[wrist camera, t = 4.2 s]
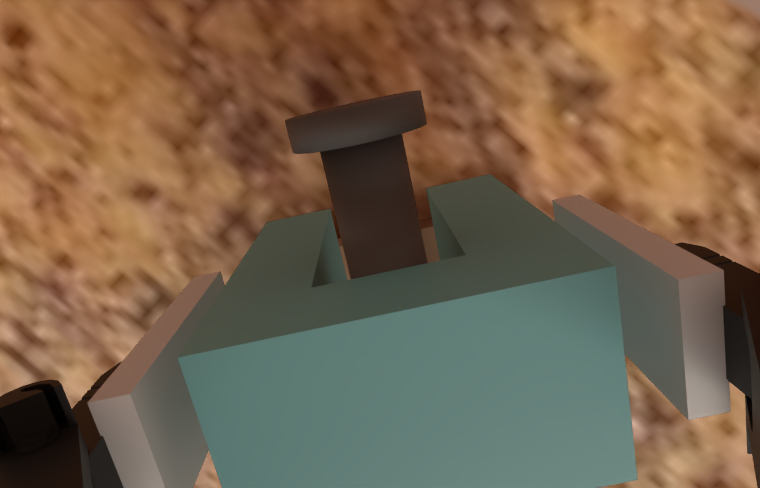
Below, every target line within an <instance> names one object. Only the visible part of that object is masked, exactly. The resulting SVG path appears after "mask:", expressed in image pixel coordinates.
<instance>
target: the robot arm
mask: <svg viewBox="0 0 760 488" xmlns="http://www.w3.org/2000/svg"><path fill="white" fill-rule="evenodd" d="M552 201H553V208H554V216H555V222H556V223H558V224H559V225H560V226H562V227H563V228H564V229H566V230H567V231H568V232H570V233H571V234H573V235H574V236H575V237H577V238H578V239H579V240H581V241H582V242H583V243H585V244H586V245H588V246H589V247H590V248H592V249H593V250H594V251H596V252H597V253H598V254H600V255H601V256H603V257H604V258H605V259H607V260H608V261H609V262H611V263H612V264H613V265H615V267H616V277H617V287H618V296H619V306H620V316H621V325H622V335H623V344H624V354H625V355H626V356H627V357H628V358H629V359H630V360H631V361H632V362H633V363H634V364H635V365H636V366H637V367H638V368H639V369H640V370H641V371H642V372H643V373H644V374H645V375H646V377H647V378H648V379H649V380H650V381H651V382H652V383H653V384H654V385H655V386H656V387H657V388H658V389H659V390H660V391H661V392H662V393H663V394H664V395H665V396H666V397H667V398H668V399H669V400H670V401H671V403H672V404H673V405H674V406H675V407H676V408H677V409H678V410H679V411H680V412H681V413H682V414H683V415H684V416H685V417H686V418H687V419H688V420H692V419H697V418H702V417H707V416H712V415H717V414H722V413H727V412H731V410H730V390H729V382H731V383H732V384H733V385H734V386H736V387H737V388H738V389H739V390H740V391H742V392H743V393H744V394H745V404H746V429H747V453H748V454H752V456H753V462H754V468H755V474H756V480H757V486H758V488H760V273H757V272H755V271H753V270H751V269H749V268H747V267H744V266H742V265H740V264H738V263H736V262H732V260H730V259H728V258H726V257H724V256H720V255H719V254H718V253H716V252H714V251H712V250H710V249H708V248H705V247H702V246H697V245H692V244H687V243H677V244H673V243H671V242H669V241H667V240H665V239H663V238H661V237H660V236H658V235H656V234H654V233H652V232H650V231H648V230H646V229H644V228H642V227H640V226H639V225H637V224H635V223H633V222H631V221H629V220H627V219H625V218H623V217H621V216H620V215H618V214H616V213H614V212H612V211H610V210H608V209H606V208H604V207H602V206H601V205H599V204H597V203H595V202H593V201H591V200H589V199H587V198H585V197H583V196H582V195H575V196H570V197H566V198H561V199H556V200H552ZM224 286H225V285H224V282H223V278H222V275H221V272H220V271H219V272H215V273H210V274H205V275H201V276H196V277H194V278H193V279H192V280H191V281H190V282H189V284H188V285H187V286H186V287H185V288H184V289H183V291H182V292H181V293H180V294H179V295H178V297H177V298H176V299H175V300H174V301H173V302H172V304H171V305H170V306H169V307H168V308H167V309H166V311H165V312H164V313H163V314H162V315H161V317H160V318H159V319H158V320H157V321H156V322H155V324H154V325H153V326H152V327H151V328H150V330H149V331H148V332H147V333H146V334H145V335H144V337H143V338H142V339H141V340H140V341H139V342H138V344H137V345H136V346H135V347H134V348H133V350H132V351H131V352H130V353H129V354H128V355H127V357H126V358H125V359H124V360H123V361H122V362H120V363H118V364H117V365H116V366H114V367H113V368H111V369H110V370H108V371H107V372H106V373H104V374H103V375H102V376H101V377H100V378H99V379H98V380H97V381H96V382H95V383H94V385H93V386H92V387H91V390H88V391H87V393H86V394H85V395H84V396H83V397H82V400H81V401H79V402H78V403H77V404H76V405H75V406H74V407H73V409H71V407H70V404H69V402H68V399H67V397H66V394H65V392H64V390H63V387H62V385H61V383H60V382H59V381H57V380H45V381H39V382H35V383H32V384H28V385H25V386H22V387H20V388H17V389H15V390H13V391H10V392H8V393H6V394H4V395H2V396H0V488H193V487H194V484H195V482H196V479H197V477H198V475H199V472H200V470H201V467H202V465H203V462H204V460H205V458H206V455H207V453H208V450H209V448H208V446H207V443H206V440H205V437H204V434H203V431H202V428H201V425H200V422H199V419H198V416H197V414H196V411H195V408H194V405H193V402H192V399H191V396H190V393H189V390H188V387H187V384H186V382H185V379H184V376H183V373H182V370H181V367H180V364H179V361H178V356H179V355H180V353H181V352H182V350H183V349H184V347H185V345H186V344H187V342H188V341H189V339H190V338H191V336H192V335H193V333H194V332H195V330H196V329H197V327H198V326H199V324H200V323H201V321H202V320H203V318H204V317H205V315H206V314H207V312H208V311H209V309H210V308H211V306H212V305H213V303H214V302H215V300H216V299H217V297H218V296H219V294H220V293H221V291H222V290H223V288H224Z"/></svg>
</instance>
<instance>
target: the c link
mask: <svg viewBox="0 0 760 488" xmlns="http://www.w3.org/2000/svg"><path fill="white" fill-rule="evenodd" d="M426 191H427V196H428V201H429V206H430V211H431V217H432V222H433V227H434V232H435V237H436V243H437V248H438V253H439V258H440V261H435V262H431V263H426V264H421V265H416V266H412V267H407V268H402V269H398V270H393V271H388V272H383V273H379V274H374V275H369V276H365V277H360V278H355V279H350V280H347V276H346V272H345V268H344V263H343V259H342V255H341V251H340V247H339V243H338V239H337V235H336V230H335V226H334V222H333V218H332V214H331V210H330V209H327V210H322V211H317V212H313V213H308V214H303V215H299V216H294V217H290V218H285V219H280V220H276V221H271V222H267V223H266V224H265V226H264V227H263V229H262V231H261V232H260V234H259V235H258V237H257V238H256V240H255V241H254V243H253V244H252V246H251V247H250V249H249V250H248V252H247V253H246V255H245V256H244V258H243V259H242V261H241V262H240V264H239V265H238V267H237V268H236V270H235V271H234V273H233V274H232V276H231V277H230V279H229V280H228V282H227V283H226V285H225V286H224V288H223V290H222V291H221V293H220V294H219V296H218V297H217V299H216V300H215V302H214V303H213V305H212V306H211V308H210V309H209V311H208V312H207V314H206V315H205V317H204V318H203V320H202V321H201V323H200V324H199V326H198V327H197V329H196V330H195V332H194V333H193V335H192V336H191V338H190V339H189V341H188V342H187V344H186V345H185V347H184V349H183V350H182V352H181V353H180V355H179V356H178V361H179V364H180V367H181V370H182V373H183V376H184V379H185V382H186V384H187V387H188V390H189V393H190V396H191V399H192V402H193V405H194V408H195V411H196V414H197V416H198V419H199V422H200V425H201V428H202V431H203V434H204V437H205V440H206V443H207V446H208V448H209V451H210V454H211V457H212V460H213V463H214V466H215V469H216V472H217V475H218V477H219V480H220V483H221V486H222V488H599V487H604V486H609V485H614V484H619V483H624V482H629V481H634V480H638V479H637V470H636V460H635V450H634V441H633V431H632V421H631V412H630V402H629V393H628V383H627V373H626V364H625V354H624V344H623V335H622V325H621V316H620V306H619V296H618V287H617V277H616V267H615V265H613V264H612V263H611V262H609V261H608V260H607V259H605V258H604V257H603V256H601V255H600V254H598V253H597V252H596V251H594V250H593V249H592V248H590V247H589V246H588V245H586V244H585V243H583V242H582V241H581V240H579V239H578V238H577V237H575V236H574V235H573V234H571V233H570V232H568V231H567V230H566V229H564V228H563V227H562V226H560V225H559V224H558V223H556V222H555V221H553V220H552V219H551V218H549V217H548V216H547V215H545V214H544V213H543V212H541V211H540V210H538V209H537V208H536V207H534V206H533V205H532V204H530V203H529V202H528V201H526V200H525V199H523V198H522V197H521V196H519V195H518V194H517V193H515V192H514V191H513V190H511V189H510V188H508V187H507V186H506V185H504V184H503V183H502V182H500V181H499V180H498V179H496V178H495V177H493V176H492V175H491V174H489V175H484V176H480V177H475V178H470V179H466V180H461V181H456V182H452V183H447V184H443V185H438V186H433V187H429V188H426Z"/></svg>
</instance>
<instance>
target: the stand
mask: <svg viewBox="0 0 760 488" xmlns="http://www.w3.org/2000/svg"><path fill="white" fill-rule="evenodd" d="M285 123H286V127H287V131H288V135H289V139H290V143H291V147H292V151H293V153H295V154H304V153H314V152H320V153H321V158H322V162H323V166H324V170H325V174H326V178H327V183H328V187H329V191H330V195H331V199H332V203H333V207H334V212H335V216H336V220H337V224H338V228H339V232H340V237H341V238H337V239H338V243H339V247H340V251H341V255H342V259H343V263H344V268H345V272H346V276H347V280H350V279H355V278H360V277H365V276H369V275H374V274H379V273H383V272H388V271H393V270H398V269H402V268H407V267H412V266H416V265H421V264H426V263H431V262H435V261H440V258H439V253H438V248H437V243H436V237H435V232H434V227H433V222H432V218H431V219H426V220H421V221H419V218H418V213H417V208H416V203H415V198H414V193H413V188H412V183H411V178H410V172H409V167H408V162H407V157H406V152H405V147H404V142H403V137H402V133H405V132H408V131H412V130H414V129H417V128H420V127H422V126H424V125H426V123H427V122H426V117H425V111H424V106H423V101H422V95H421V91H411V92H405V93H399V94H394V95H389V96H384V97H379V98H374V99H369V100H364V101H360V102H355V103H351V104H346V105H342V106H337V107H333V108H329V109H325V110H320V111H316V112H312V113H308V114H304V115H301V116H297V117H294V118H290V119H287V120H285Z"/></svg>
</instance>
